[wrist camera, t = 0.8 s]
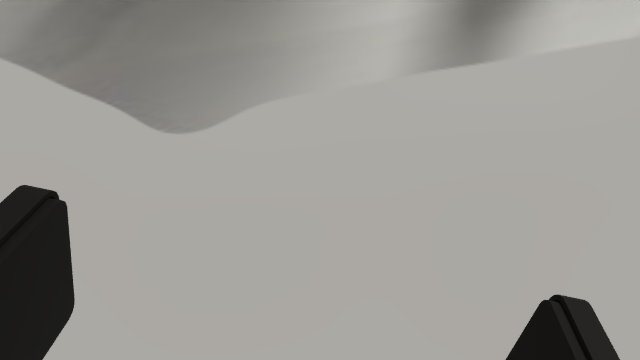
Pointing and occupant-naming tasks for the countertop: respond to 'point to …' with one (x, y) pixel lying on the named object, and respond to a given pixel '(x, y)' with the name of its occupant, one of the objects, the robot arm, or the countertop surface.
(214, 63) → the countertop surface
